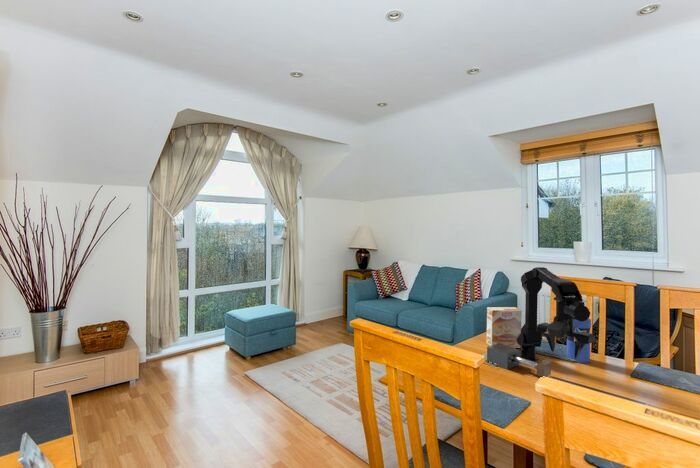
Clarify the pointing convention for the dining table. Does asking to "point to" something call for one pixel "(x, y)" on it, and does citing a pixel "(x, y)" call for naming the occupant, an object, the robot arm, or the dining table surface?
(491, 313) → the coffeecake box
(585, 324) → the water bottle
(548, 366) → the shaft
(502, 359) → the housing
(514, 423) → the dining table surface
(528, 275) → the robot arm
